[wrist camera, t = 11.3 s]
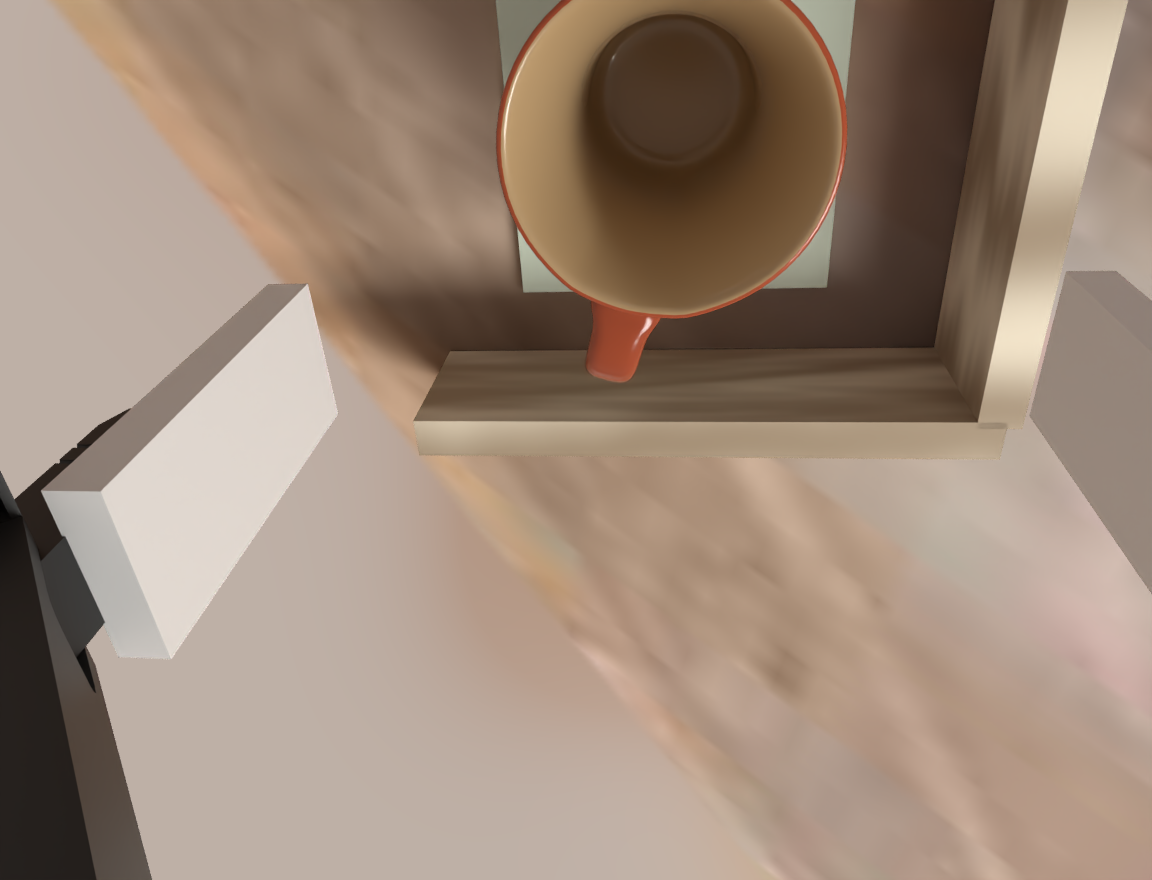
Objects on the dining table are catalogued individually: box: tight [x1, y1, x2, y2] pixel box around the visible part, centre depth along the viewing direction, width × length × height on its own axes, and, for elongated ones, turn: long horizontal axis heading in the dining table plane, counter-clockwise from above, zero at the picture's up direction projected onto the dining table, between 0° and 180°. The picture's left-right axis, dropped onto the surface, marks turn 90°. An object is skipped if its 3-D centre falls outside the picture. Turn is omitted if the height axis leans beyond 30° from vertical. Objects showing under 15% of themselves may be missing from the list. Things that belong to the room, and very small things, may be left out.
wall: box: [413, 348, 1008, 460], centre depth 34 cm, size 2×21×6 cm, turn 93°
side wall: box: [934, 0, 1128, 429], centre depth 28 cm, size 14×2×6 cm, turn 3°
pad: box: [496, 0, 855, 292], centre depth 31 cm, size 12×12×1 cm
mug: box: [496, 0, 847, 383], centre depth 27 cm, size 12×9×10 cm
